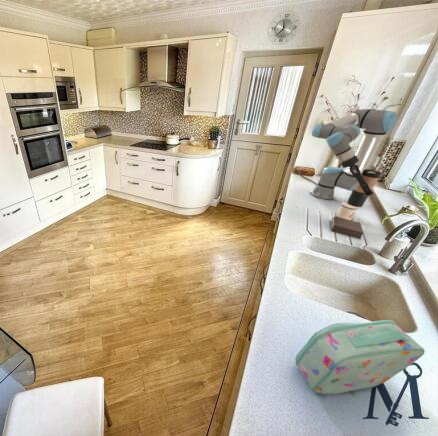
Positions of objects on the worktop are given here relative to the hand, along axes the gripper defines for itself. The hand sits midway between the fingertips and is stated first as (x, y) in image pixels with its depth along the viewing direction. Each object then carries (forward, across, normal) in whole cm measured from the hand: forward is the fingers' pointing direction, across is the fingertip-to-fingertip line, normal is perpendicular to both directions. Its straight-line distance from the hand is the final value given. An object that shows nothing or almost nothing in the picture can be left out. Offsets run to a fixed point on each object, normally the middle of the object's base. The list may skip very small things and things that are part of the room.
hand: (368, 192), depth 130 cm
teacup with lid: (+18, -21, -18) cm, 33 cm away
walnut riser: (+17, 0, -19) cm, 25 cm away
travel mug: (+4, 0, -8) cm, 9 cm away
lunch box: (+12, +106, -24) cm, 109 cm away
